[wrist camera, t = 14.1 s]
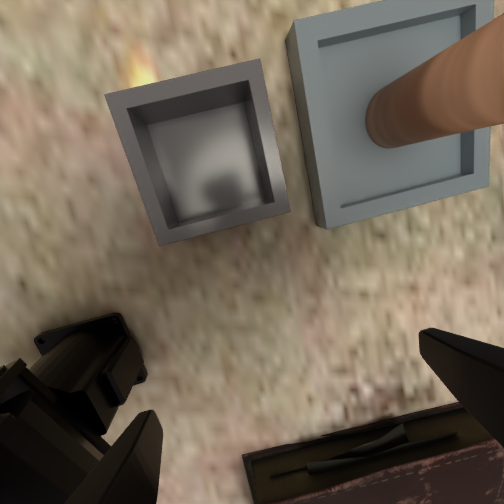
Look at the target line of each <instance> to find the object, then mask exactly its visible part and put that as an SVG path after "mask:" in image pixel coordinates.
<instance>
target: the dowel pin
mask: <svg viewBox="0 0 504 504" xmlns="http://www.w3.org/2000/svg"><path fill="white" fill-rule="evenodd" d="M503 123H504V13H503V14H502V15H500V16H498V17H497V18H495V19H493V20H492V21H490V22H489V23H487V24H485V25H484V26H482V27H481V28H479V29H477V30H476V31H474V32H472V33H471V34H469V35H468V36H466V37H464V38H463V39H461V40H459V41H458V42H456V43H455V44H453V45H451V46H450V47H448V48H446V49H445V50H443V51H442V52H440V53H438V54H437V55H435V56H434V57H432V58H430V59H429V60H427V61H425V62H424V63H422V64H421V65H419V66H417V67H416V68H414V69H412V70H411V71H409V72H408V73H406V74H404V75H403V76H401V77H400V78H398V79H396V80H395V81H393V82H391V83H390V84H388V85H387V86H385V87H383V88H382V89H380V90H379V91H378V92H377V93H376V94H375V95H374V96H373V98H372V99H371V101H370V103H369V105H368V107H367V110H366V115H365V125H366V130H367V133H368V135H369V137H370V139H371V140H372V141H373V142H374V143H375V144H376V145H378V146H380V147H383V148H396V147H401V146H405V145H410V144H414V143H418V142H423V141H427V140H432V139H436V138H441V137H445V136H450V135H454V134H459V133H463V132H467V131H472V130H476V129H481V128H485V127H490V126H494V125H499V124H503Z"/></svg>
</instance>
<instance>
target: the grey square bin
mask: <svg viewBox="0 0 504 504" xmlns="http://www.w3.org/2000/svg"><path fill="white" fill-rule="evenodd" d="M104 95H105V98H106V101H107V104H108V106H109V109H110V112H111V115H112V117H113V120H114V123H115V126H116V128H117V131H118V134H119V137H120V139H121V142H122V145H123V148H124V150H125V153H126V156H127V159H128V161H129V164H130V167H131V170H132V172H133V175H134V178H135V181H136V183H137V186H138V189H139V192H140V194H141V197H142V200H143V203H144V205H145V208H146V211H147V214H148V216H149V219H150V222H151V225H152V227H153V230H154V233H155V236H156V238H157V241H158V244H159V246H163V245H166V244H170V243H174V242H178V241H182V240H186V239H189V238H193V237H197V236H201V235H205V234H208V233H212V232H216V231H220V230H224V229H227V228H231V227H235V226H239V225H243V224H247V223H250V222H254V221H258V220H262V219H266V218H269V217H273V216H277V215H281V214H285V213H288V212H291V211H290V206H289V201H288V196H287V191H286V186H285V181H284V176H283V171H282V166H281V161H280V156H279V151H278V146H277V141H276V136H275V130H274V125H273V120H272V115H271V110H270V105H269V100H268V95H267V90H266V85H265V80H264V75H263V70H262V65H261V60H260V58H259V59H255V60H251V61H247V62H242V63H238V64H234V65H229V66H225V67H221V68H216V69H212V70H208V71H203V72H199V73H195V74H190V75H186V76H182V77H177V78H173V79H169V80H165V81H160V82H156V83H152V84H147V85H143V86H139V87H134V88H130V89H126V90H121V91H117V92H113V93H108V94H104Z"/></svg>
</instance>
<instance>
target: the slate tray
mask: <svg viewBox="0 0 504 504" xmlns="http://www.w3.org/2000/svg"><path fill="white" fill-rule="evenodd" d="M493 19H494V0H382V1H378V2H373V3H369V4H364V5H360V6H355V7H351V8H347V9H342V10H338V11H333V12H329V13H324V14H320V15H316V16H311V17H307V18H302V19H298V20H294V21H293V24H292V26H291V28H290V31H289V33H288V35H287V38H286V40H285V42H286V48H287V54H288V60H289V65H290V71H291V77H292V83H293V89H294V95H295V101H296V106H297V112H298V118H299V124H300V130H301V136H302V142H303V148H304V153H305V159H306V165H307V171H308V177H309V183H310V189H311V194H312V200H313V206H314V212H315V218H316V224H317V226H320V227H322V228H325V229H331V228H335V227H339V226H342V225H346V224H350V223H354V222H357V221H361V220H365V219H369V218H372V217H376V216H380V215H383V214H387V213H391V212H395V211H398V210H402V209H406V208H410V207H413V206H417V205H421V204H425V203H428V202H432V201H436V200H440V199H443V198H447V197H451V196H455V195H458V194H462V193H466V192H469V191H473V190H477V189H481V188H484V187H488V186H489V166H490V132H491V126H490V127H485V128H481V129H476V130H472V131H467V132H463V133H459V134H454V135H450V136H445V137H441V138H436V139H432V140H427V141H423V142H418V143H414V144H410V145H405V146H401V147H396V148H383V147H380V146H378V145H376V144H375V143H374V142H373V141H372V140H371V139H370V137H369V135H368V133H367V130H366V125H365V115H366V110H367V107H368V105H369V103H370V101H371V99H372V98H373V96H374V95H375V94H376V93H377V92H378V91H379V90H380V89H382V88H383V87H385V86H387V85H388V84H390V83H391V82H393V81H395V80H396V79H398V78H400V77H401V76H403V75H404V74H406V73H408V72H409V71H411V70H412V69H414V68H416V67H417V66H419V65H421V64H422V63H424V62H425V61H427V60H429V59H430V58H432V57H434V56H435V55H437V54H438V53H440V52H442V51H443V50H445V49H446V48H448V47H450V46H451V45H453V44H455V43H456V42H458V41H459V40H461V39H463V38H464V37H466V36H468V35H469V34H471V33H472V32H474V31H476V30H477V29H479V28H481V27H482V26H484V25H485V24H487V23H489V22H490V21H492V20H493Z"/></svg>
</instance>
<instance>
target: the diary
mask: <svg viewBox="0 0 504 504" xmlns="http://www.w3.org/2000/svg"><path fill="white" fill-rule="evenodd" d="M322 436H329V437H325V438H321V439H317V440H313V441H309V442H302V443H294V444H286V445H282V446H277V447H273V448H268V449H264V450H260V451H255V452H252V453H248V454H244V455H242V458H243V462H244V466H245V470H246V474H247V478H248V481H249V485H250V489H251V493H252V497H253V501H254V504H504V448H503V447H502V446H501V445H500V444H499V443H498V442H497V441H496V440H495V439H494V438H493V437H492V435H491V434H490V433H489V432H488V431H487V430H486V429H485V428H484V427H483V426H482V425H481V424H480V423H479V422H478V421H477V420H476V419H475V418H474V417H473V416H472V415H471V414H470V413H469V412H468V411H467V410H466V409H465V408H464V407H463V405H462V404H461V403H460V402H458V403H453V404H448V405H444V406H440V407H435V408H431V409H427V410H422V411H418V412H414V413H410V414H406V415H403V416H399V417H395V418H391V419H387V420H384V421H380V422H377V423H374V424H370V425H367V426H363V427H356V428H351V429H346V430H341V431H337V432H333V433H329V434H326V435H322Z"/></svg>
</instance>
